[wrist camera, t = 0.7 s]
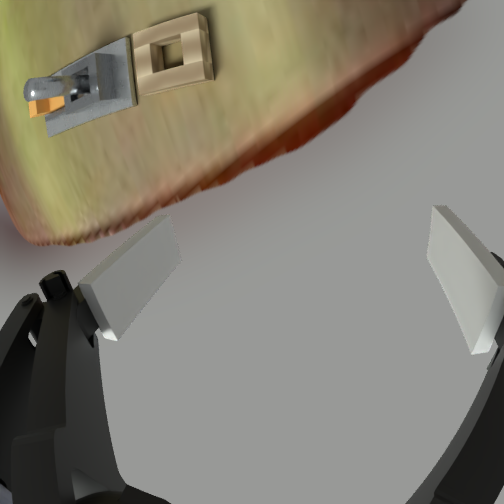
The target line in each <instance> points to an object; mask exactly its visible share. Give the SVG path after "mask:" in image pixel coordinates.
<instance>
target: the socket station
mask: <svg viewBox="0 0 504 504" xmlns="http://www.w3.org/2000/svg"><path fill="white" fill-rule="evenodd" d="M65 75H89V84H90V93H86V94H76V95H68V96H64V103H65V106H64V107H62V108H60V109H58V110H56V111H54V112H52V113H50V114H46V115H45V120H46V126H47V133H48V138H49V137H52V136H55V135H57V134H59V133H62V132H64V131H66V130H69V129H71V128H74V127H76V126H79V125H81V124H84V123H86V122H89V121H92V120H95V119H97V118H100V117H103V116H106V115H109V114H112V113H115V112H118V111H121V110H124V109H127V108H131V107H134V106H137V102H136V95H135V87H134V78H133V69H132V60H131V49H130V38H127V37H124V38H122V39H120V40H117V41H115V42H113V43H111V44H109V45H107V46H104V47H102V48H100V49H98V50H96V51H94V52H92V53H90V54H88V55H87V56H85V57H83V58H81V59H79V60H77V61H75V62H74V63H72V64H70V65H68V66H67V67H65V68H63V69H62V70H60V71H58V72H57V73H55V74H53V75H52V76H65Z"/></svg>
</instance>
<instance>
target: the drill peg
mask: <svg viewBox="0 0 504 504" xmlns="http://www.w3.org/2000/svg"><path fill="white" fill-rule="evenodd" d="M86 93H90V84H89V75H65V76H50V77H39V78H30V79H29V80H28V81H27V82H26V84H25V86H24V98H25V100H26V101H28V102H29V101H34V100H40V99H46V98H53V97H60V96H68V95H76V94H86Z"/></svg>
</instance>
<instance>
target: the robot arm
mask: <svg viewBox="0 0 504 504" xmlns="http://www.w3.org/2000/svg"><path fill="white" fill-rule="evenodd" d="M427 259H428V261H429V263H430V265H431V266H432V269H433V270H434V272H435V274H436V276H437V278H438V280H439V282H440V284H441V286H442V288H443V290H444V292H445V294H446V296H447V298H448V301H449V302H450V305H451V307H452V309H453V311H454V314H455V316H456V318H457V320H458V323H459V325H460V327H461V330H462V332H463V335H464V337H465V340H466V342H467V345H468V347H469V350H470V353H471V354H478V353H484V352H488V351H489V349H490V347H491V345H492V343H493V341H494V339H495V340H496V343H497V345H498V348H497V350H496V352H495V354H494V356H493V358H492V360H491V362H490V364H489V366H488V367H487V370H488V372H487V374H486V376H485V379H484V381H483V383H482V385H481V387H480V390H479V392H478V394H477V396H476V398H475V400H474V402H473V404H472V406H471V408H470V410H469V412H468V413H467V415H466V417H465V419H464V421H463V423H462V424H461V426H460V428H459V430H458V431H457V433H456V435H455V436H454V438H453V440H452V441H451V443H450V444H449V446H448V448H447V449H446V451H445V453H444V454H443V455H442V457H441V458H440V460H439V461H438V463H437V464H436V466H435V467H434V468H433V470H432V471H431V472H430V474H429V475H428V476H427V478H426V479H425V480H424V482H423V483H422V484H421V485H420V487H419V488H418V489H417V490H416V492H415V493H414V494H413V496H412V497H411V498H410V499H409V500H408V501H407V503H406V504H494V502H495V501H496V499H497V497H498V495H499V493H500V491H501V490H502V488H503V486H504V261H503V260H502V259H501V258H500V257H499V256H497V255H496V254H494V253H493V252H489V250H488V249H487V248H486V247H485V246H484V245H483V244H482V242H481V241H480V240H479V239H478V238H477V237H476V236H475V235H474V234H473V233H472V231H471V230H470V229H469V228H468V227H467V226H466V225H465V224H464V223H463V222H462V221H461V220H460V219H459V218H458V217H457V216H456V215H455V214H454V213H453V212H452V211H451V210H450V209H449V208H448V207H447V206H438V205H437V206H436V205H435V206H434V205H433V208H432V219H431V228H430V236H429V244H428V251H427ZM181 261H182V259H181V255H180V252H179V248H178V244H177V240H176V236H175V232H174V228H173V225H172V221H171V217H170V215H161V216H157V217H156V218H155V219H154V220H152V221H151V222H149V223H148V224H147V225H146V226H145V227H143V228H142V229H141V230H139V231H138V232H137V233H136V234H135V235H133V236H132V237H131V238H129V239H128V240H127V241H126V242H125V243H123V244H122V245H121V246H120V247H119V248H117V249H116V250H115V251H114V252H113V253H112V254H110V255H109V256H108V257H107V258H106V259H105V260H103V261H102V262H101V263H100V264H99V265H98V266H96V267H95V268H94V269H93V270H92V271H91V272H90V273H88V275H86V276H85V277H84V278H83V279H82V280H81V281H80V282H79V283H78V286H77V287H76V288H75V289H74V290H73V288H72V286H71V284H70V282H69V279H68V277H67V275H66V273H65V271H64V270H58V271H54V272H52V273H50V274H48V275H47V276H45V277H44V278H43V279H42V280H41V281H40V283H39V285H40V287H41V289H42V291H43V293H44V295H45V297H46V299H47V302H42V301H41V300H40V297H39V295H38V294H37V293H32V294H27V295H26V296H24V297H23V298H22V299H21V300H20V301H19V302H18V303H17V305H16V306H15V308H14V310H13V311H12V313H11V314H10V316H9V317H8V319H7V321H6V322H5V324H4V325H3V327H2V329H1V331H0V504H171V503H169V502H168V501H166V500H164V499H162V498H159V497H156V496H154V495H151V494H149V493H146V492H144V491H141V490H139V489H136V488H134V487H132V486H129V485H127V484H126V483H125V482H124V480H123V479H122V477H121V475H120V474H119V471H118V468H117V464H116V460H115V456H114V451H113V447H112V442H111V437H110V432H109V427H108V421H107V415H106V409H105V402H104V395H103V388H102V380H101V370H100V359H99V347H98V338H97V336H96V334H95V331H96V330H97V329H98V328H100V330H101V332H102V334H103V336H104V338H106V339H111V340H116V341H118V340H119V339H120V338H121V336H122V335H123V334H124V332H125V331H126V330H127V328H128V327H129V326H130V325H131V323H132V322H133V321H134V319H135V318H136V317H137V315H138V314H139V313H140V312H141V310H142V309H143V308H144V307H145V305H146V304H147V303H148V302H149V300H150V299H151V298H152V296H153V295H154V294H155V293H156V292H157V290H158V289H159V288H160V287H161V285H162V284H163V283H164V282H165V280H166V279H167V278H168V277H169V275H170V274H171V273H172V272H173V271H174V269H175V268H176V267H177V266H178V264H179V263H180V262H181ZM29 332H30V333H31V335H32V336H33V338H34V340H35V341H36V343H37V344H36V347H34V346H33V345H32V343H31V342H30V340H29V338H28V335H29Z"/></svg>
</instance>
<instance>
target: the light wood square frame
mask: <svg viewBox="0 0 504 504" xmlns="http://www.w3.org/2000/svg"><path fill="white" fill-rule="evenodd" d="M179 41H181V43H182V52H183V61H184V65H182V66H178V67H174V68H170V69H167V70H164V62H163V53H162V46H165V45H169V44H172V43H175V42H179ZM133 42H134V53H135V63H136V73H137V81H138V89H139V95H154V94H158V93H161V92H165V91H169V90H173V89H177V88H182V87H186V86H190V85H195V84H200V83H205V82H210V81H214V74H213V66H212V57H211V49H210V41H209V32H208V23H207V18H205V17H204V16H202V15H201V14H199V13H193V14H189V15H186V16H182V17H179V18H176V19H173V20H170V21H167V22H164V23H161V24H158V25H155V26H152V27H149V28H147V29H144V30H142V31H139V32H136V33H134V34H133Z"/></svg>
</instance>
